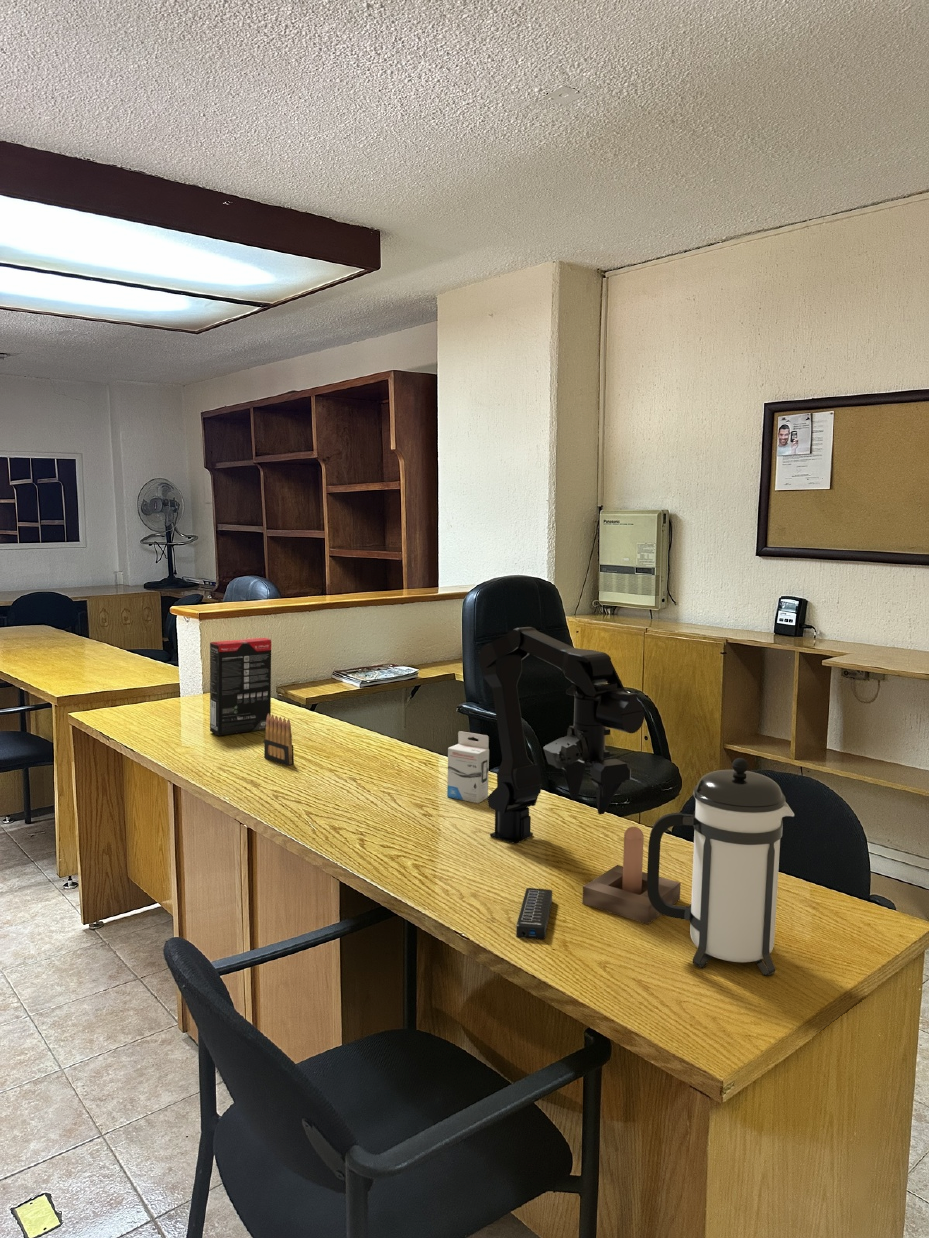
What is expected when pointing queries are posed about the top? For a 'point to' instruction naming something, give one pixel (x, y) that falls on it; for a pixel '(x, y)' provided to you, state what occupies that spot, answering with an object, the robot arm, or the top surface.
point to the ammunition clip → (278, 741)
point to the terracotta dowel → (633, 860)
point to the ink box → (468, 768)
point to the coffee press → (729, 866)
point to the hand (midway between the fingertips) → (587, 806)
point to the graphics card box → (240, 685)
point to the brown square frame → (627, 896)
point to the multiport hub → (534, 914)
